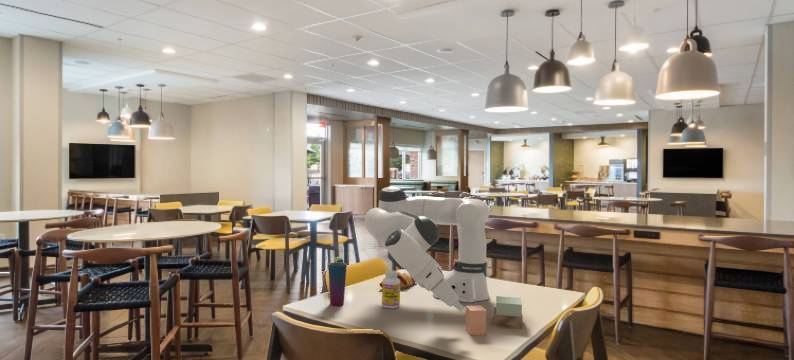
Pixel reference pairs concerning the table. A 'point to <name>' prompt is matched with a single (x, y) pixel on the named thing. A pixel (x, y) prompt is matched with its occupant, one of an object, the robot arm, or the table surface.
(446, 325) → the table surface
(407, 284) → the croissant
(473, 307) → the terracotta block
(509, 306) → the tower top
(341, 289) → the cup
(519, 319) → the tower base
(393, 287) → the supplement bottle
